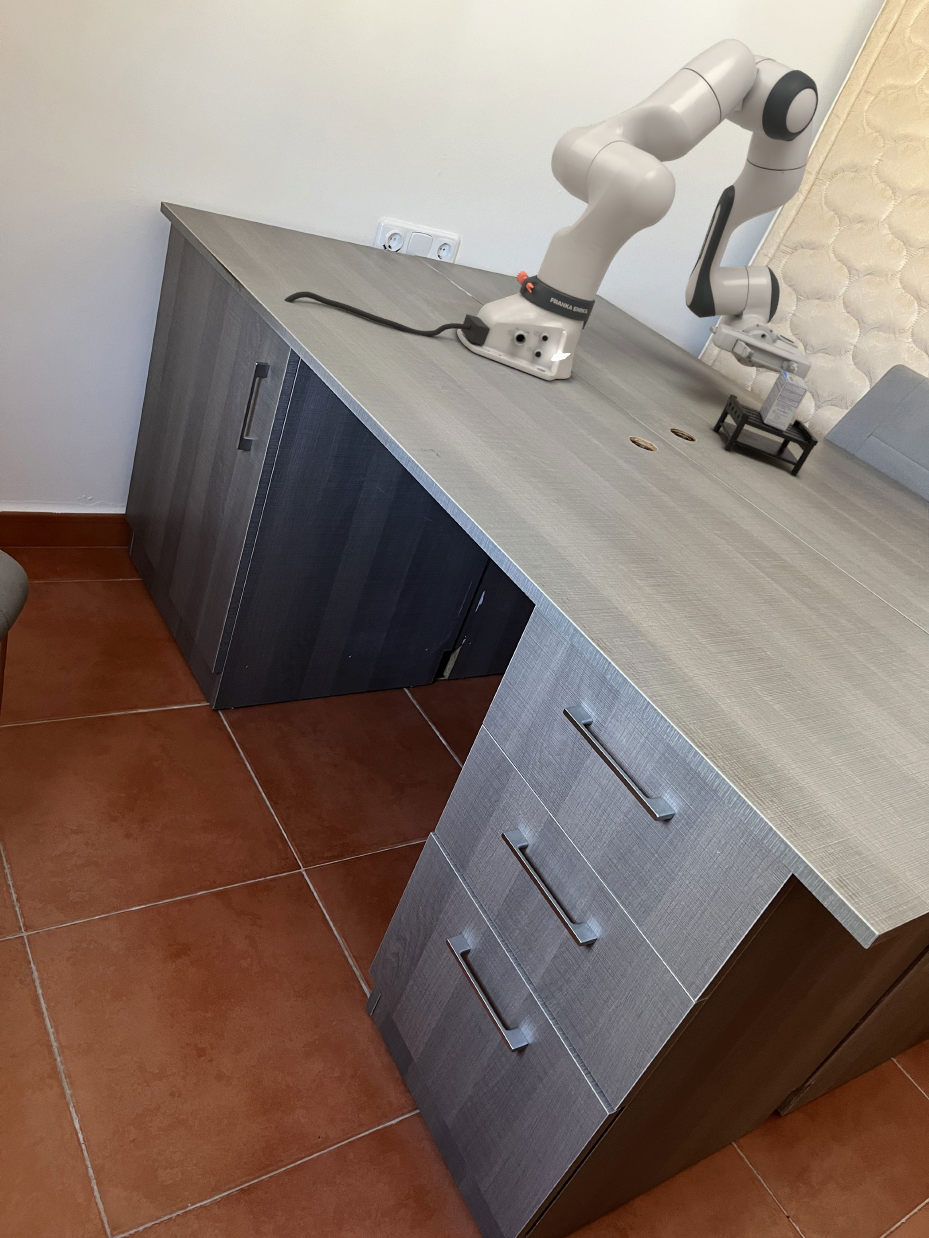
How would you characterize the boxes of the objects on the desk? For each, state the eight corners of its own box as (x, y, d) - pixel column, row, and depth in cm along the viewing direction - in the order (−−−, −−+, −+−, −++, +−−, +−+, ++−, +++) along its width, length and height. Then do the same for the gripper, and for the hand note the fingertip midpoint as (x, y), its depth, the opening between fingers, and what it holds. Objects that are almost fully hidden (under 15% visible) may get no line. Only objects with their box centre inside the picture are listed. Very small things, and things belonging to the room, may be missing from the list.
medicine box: (784, 433, 170) (809, 389, 166) (762, 423, 170) (786, 379, 166) (779, 420, 177) (803, 378, 173) (758, 411, 177) (781, 369, 172)
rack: (724, 449, 170) (744, 413, 167) (711, 428, 180) (730, 393, 176) (797, 477, 173) (819, 442, 169) (781, 455, 182) (801, 421, 179)
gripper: (715, 310, 188) (731, 328, 176) (803, 346, 192) (825, 366, 180) (700, 340, 191) (715, 359, 180) (787, 374, 195) (807, 396, 183)
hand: (770, 363), depth 180 cm, fingers open, 8 cm apart
